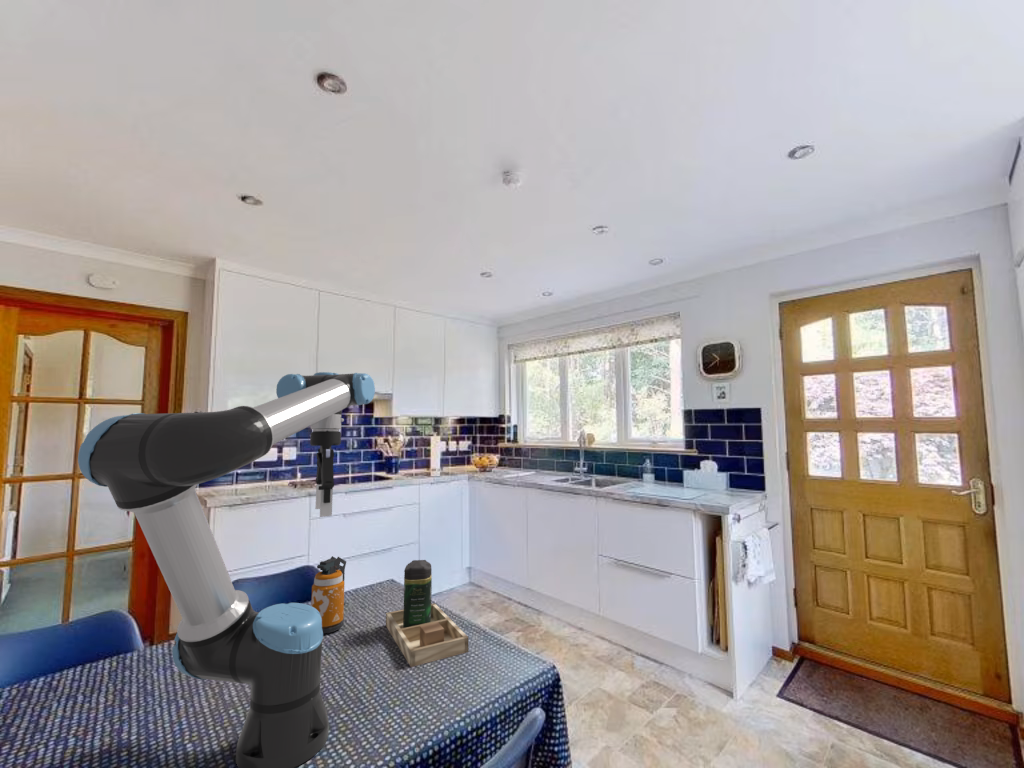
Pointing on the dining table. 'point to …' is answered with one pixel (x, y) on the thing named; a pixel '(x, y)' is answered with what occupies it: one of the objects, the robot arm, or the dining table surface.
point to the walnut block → (431, 634)
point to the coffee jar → (417, 593)
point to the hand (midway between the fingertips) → (323, 512)
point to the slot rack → (419, 655)
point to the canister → (329, 593)
